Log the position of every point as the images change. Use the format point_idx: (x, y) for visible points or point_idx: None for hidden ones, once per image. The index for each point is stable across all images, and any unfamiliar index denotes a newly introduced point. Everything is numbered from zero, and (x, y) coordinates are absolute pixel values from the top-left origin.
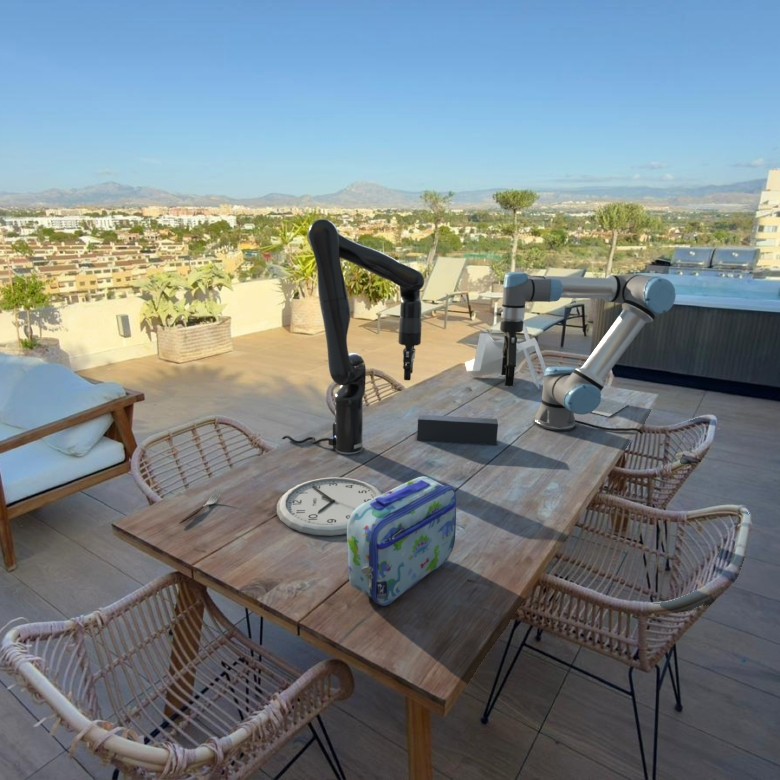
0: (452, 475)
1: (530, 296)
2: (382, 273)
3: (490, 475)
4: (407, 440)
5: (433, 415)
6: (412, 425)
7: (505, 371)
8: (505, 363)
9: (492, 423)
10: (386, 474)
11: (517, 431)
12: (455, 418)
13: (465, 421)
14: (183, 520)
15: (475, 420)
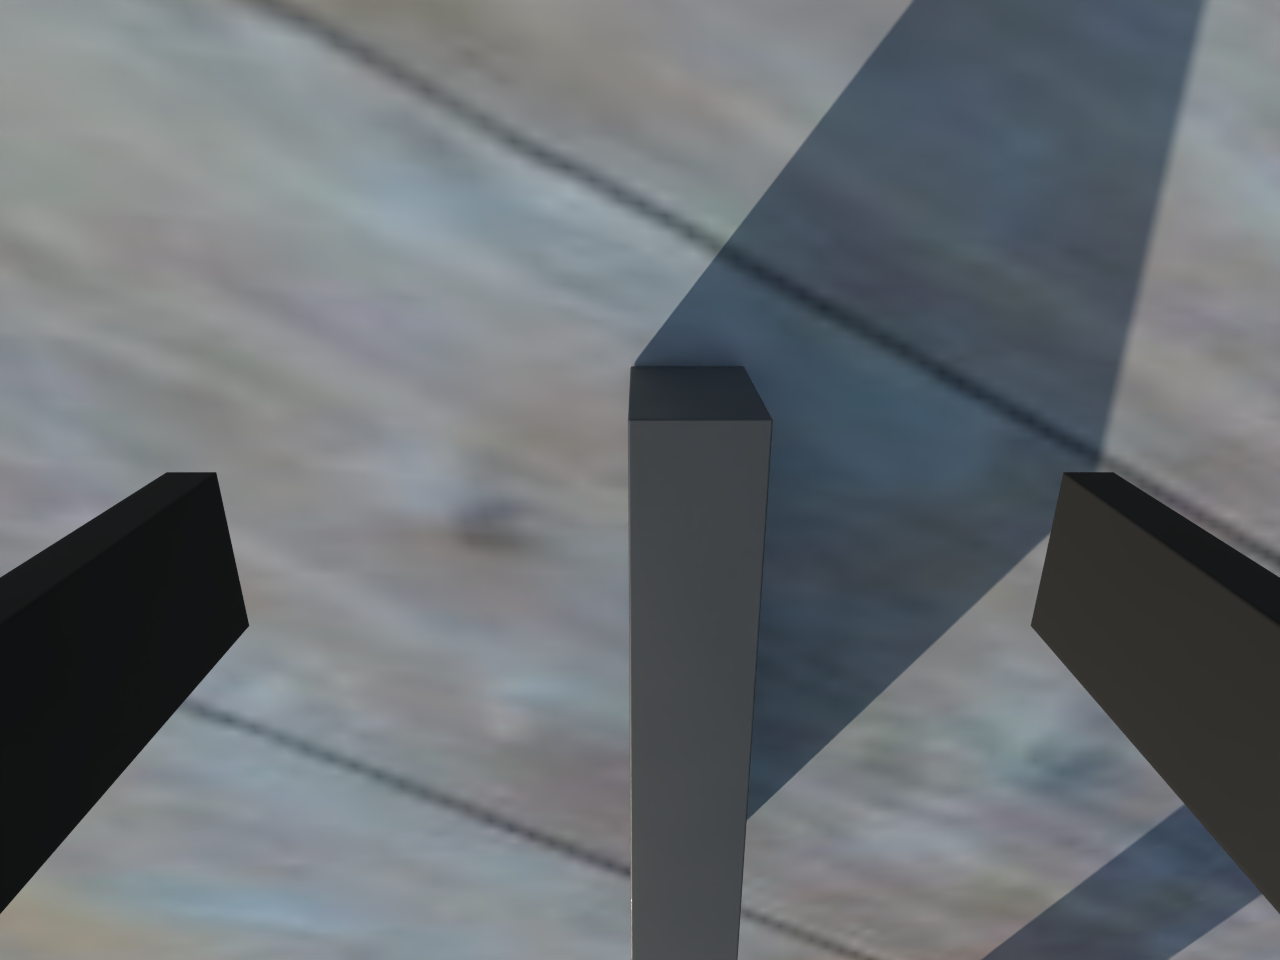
0: None
1: None
2: None
3: (1271, 442)
4: None
5: (635, 900)
6: (473, 882)
7: (187, 601)
8: (38, 759)
9: (767, 470)
10: (1184, 939)
11: (390, 144)
12: (679, 760)
13: (742, 690)
14: None
15: (703, 612)
